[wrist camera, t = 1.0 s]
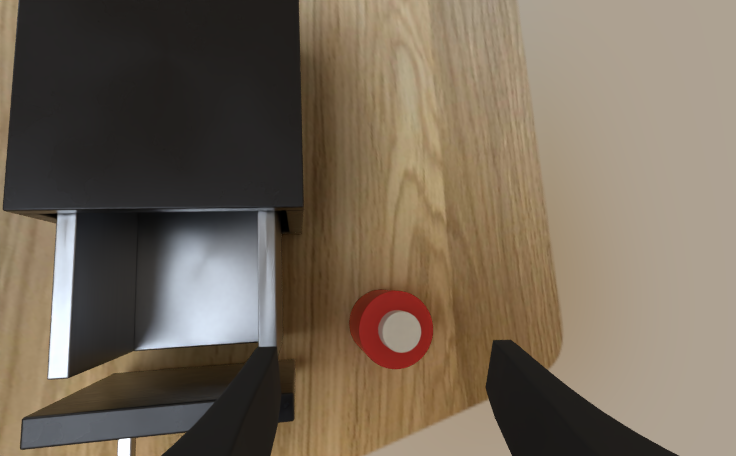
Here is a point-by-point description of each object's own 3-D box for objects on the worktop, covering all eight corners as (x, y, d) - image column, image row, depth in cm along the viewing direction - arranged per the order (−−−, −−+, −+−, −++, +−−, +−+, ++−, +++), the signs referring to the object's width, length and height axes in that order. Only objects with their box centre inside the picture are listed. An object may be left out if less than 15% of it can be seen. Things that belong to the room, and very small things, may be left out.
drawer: (297, 450, 24) (296, 528, 16) (108, 472, 22) (10, 571, 15) (291, 182, 26) (289, 142, 19) (120, 183, 24) (39, 137, 17)
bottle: (414, 353, 27) (443, 370, 22) (350, 358, 26) (364, 377, 21) (410, 288, 28) (437, 289, 22) (348, 291, 27) (360, 293, 21)
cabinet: (301, 233, 27) (303, 207, 17) (114, 238, 25) (1, 210, 15) (297, 47, 29) (297, -69, 19) (121, 36, 26) (25, -99, 17)
